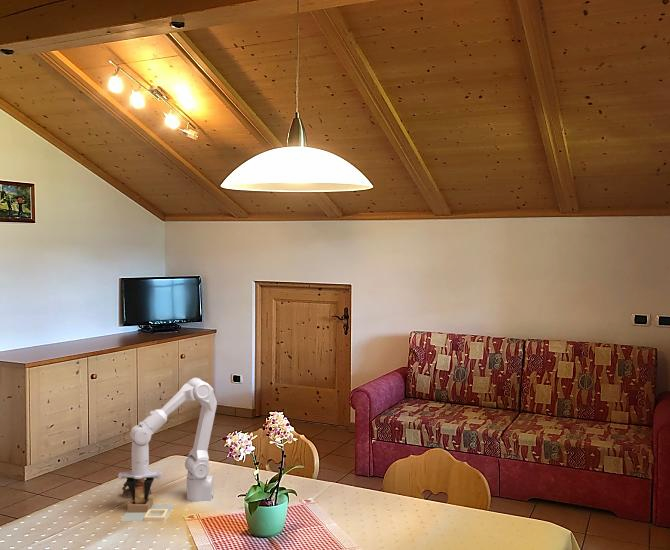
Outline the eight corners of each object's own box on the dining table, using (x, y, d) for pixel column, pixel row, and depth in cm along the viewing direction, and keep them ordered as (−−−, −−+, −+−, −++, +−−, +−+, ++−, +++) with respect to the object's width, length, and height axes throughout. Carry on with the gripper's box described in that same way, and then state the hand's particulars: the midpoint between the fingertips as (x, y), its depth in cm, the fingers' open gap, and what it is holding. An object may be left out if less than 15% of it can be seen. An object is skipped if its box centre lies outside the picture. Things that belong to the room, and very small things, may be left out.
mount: (174, 507, 237) (174, 497, 237) (166, 524, 223) (166, 513, 223) (131, 507, 237) (131, 497, 236) (120, 524, 223) (120, 513, 223)
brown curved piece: (152, 501, 244) (140, 484, 241) (128, 512, 244) (117, 495, 241) (155, 481, 255) (144, 465, 252) (133, 492, 255) (122, 475, 252)
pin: (146, 502, 235) (146, 483, 235) (145, 506, 231) (145, 487, 231) (135, 503, 234) (135, 483, 234) (133, 507, 231) (133, 487, 230)
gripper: (115, 464, 228) (116, 503, 229) (158, 464, 229) (158, 503, 229) (121, 457, 235) (121, 495, 236) (163, 457, 236) (163, 495, 236)
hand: (140, 498), depth 233 cm, fingers closed on pin, 3 cm apart
